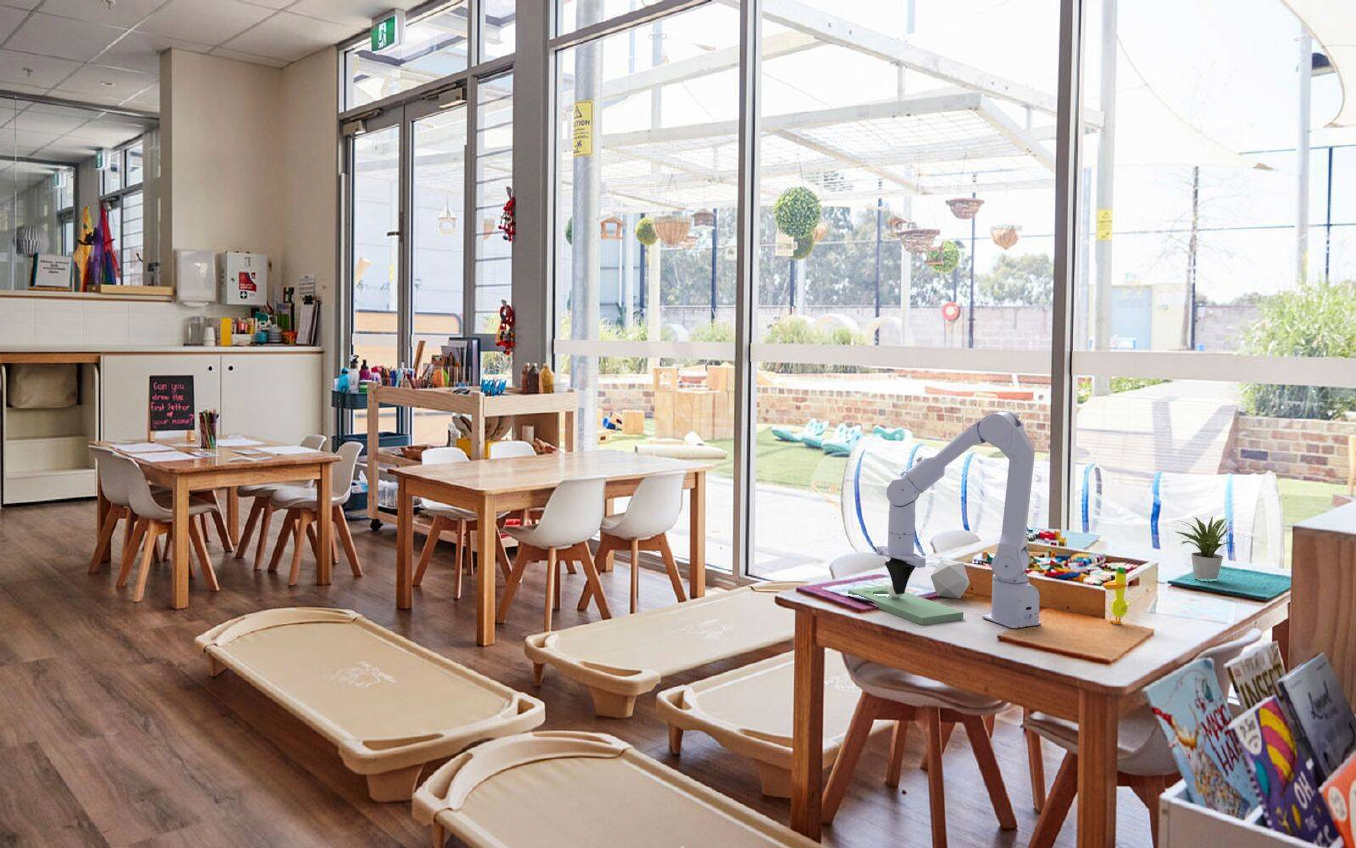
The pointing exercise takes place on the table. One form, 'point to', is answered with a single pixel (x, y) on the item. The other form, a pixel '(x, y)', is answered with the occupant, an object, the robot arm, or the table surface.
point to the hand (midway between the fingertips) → (899, 593)
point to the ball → (893, 592)
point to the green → (909, 606)
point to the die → (950, 579)
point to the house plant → (1206, 549)
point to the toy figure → (1118, 594)
